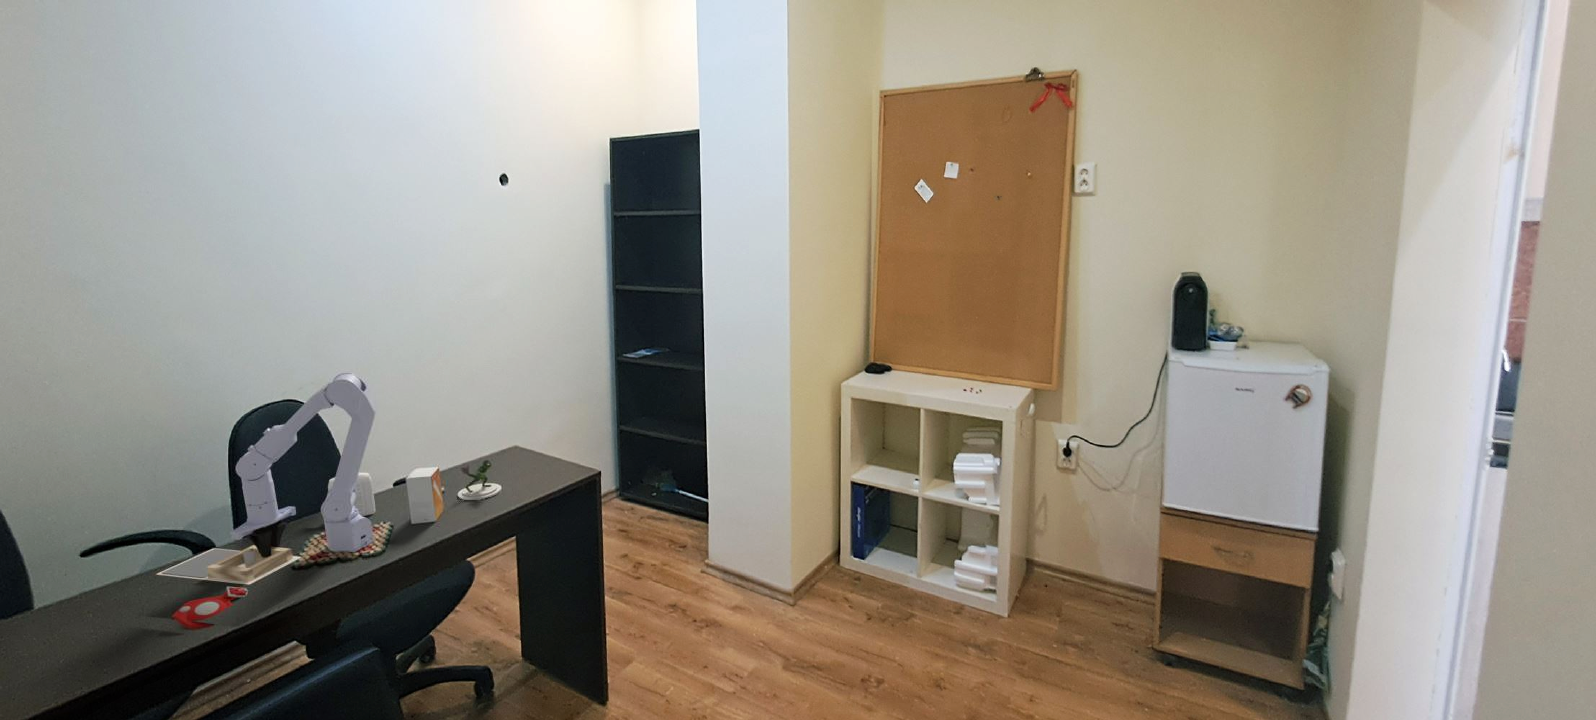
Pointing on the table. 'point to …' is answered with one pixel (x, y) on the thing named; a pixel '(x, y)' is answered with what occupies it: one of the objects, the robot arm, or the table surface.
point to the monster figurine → (479, 489)
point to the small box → (425, 495)
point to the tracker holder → (207, 608)
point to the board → (198, 564)
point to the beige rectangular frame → (232, 572)
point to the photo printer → (362, 494)
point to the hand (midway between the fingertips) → (270, 554)
